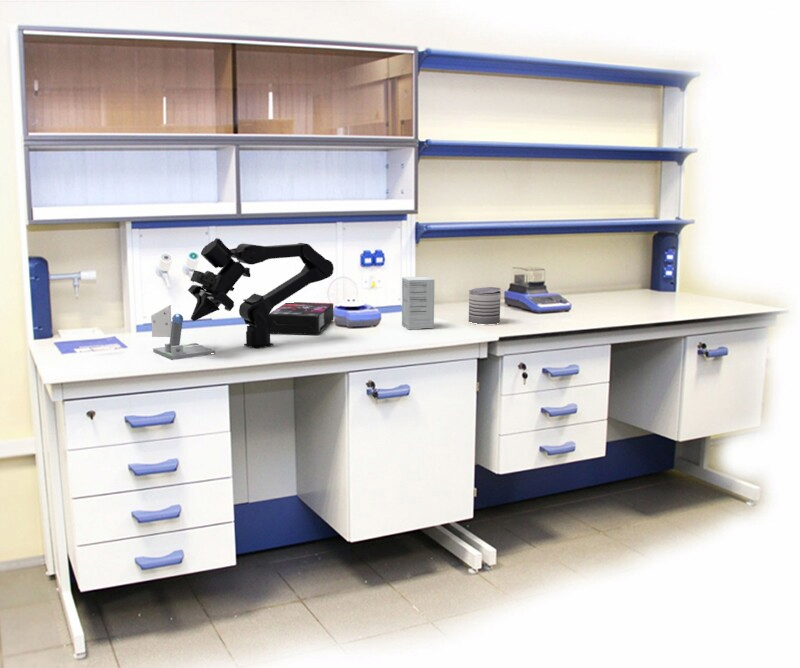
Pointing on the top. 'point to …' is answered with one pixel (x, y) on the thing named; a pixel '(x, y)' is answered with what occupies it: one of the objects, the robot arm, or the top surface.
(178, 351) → the switch panel
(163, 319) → the grey plate
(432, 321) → the supplement box
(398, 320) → the top surface
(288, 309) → the graphics card box
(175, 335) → the lever
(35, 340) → the top surface
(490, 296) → the can
